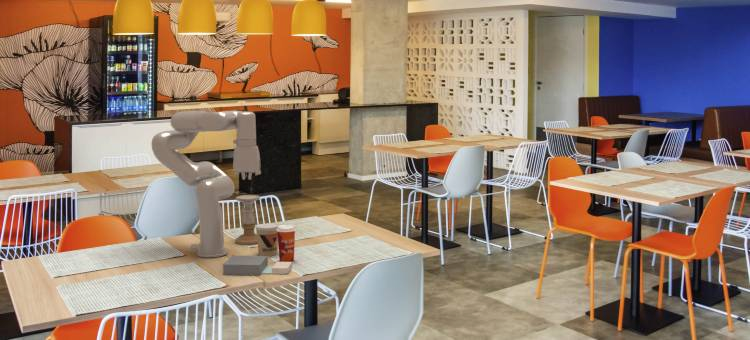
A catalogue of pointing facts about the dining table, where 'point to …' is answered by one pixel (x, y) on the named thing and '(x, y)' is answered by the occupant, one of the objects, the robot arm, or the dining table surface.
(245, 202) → the candle holder
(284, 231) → the paper cup
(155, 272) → the dining table surface
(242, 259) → the grey flat block
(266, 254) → the coffee cup
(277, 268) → the pale pink flat block
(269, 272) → the mat
